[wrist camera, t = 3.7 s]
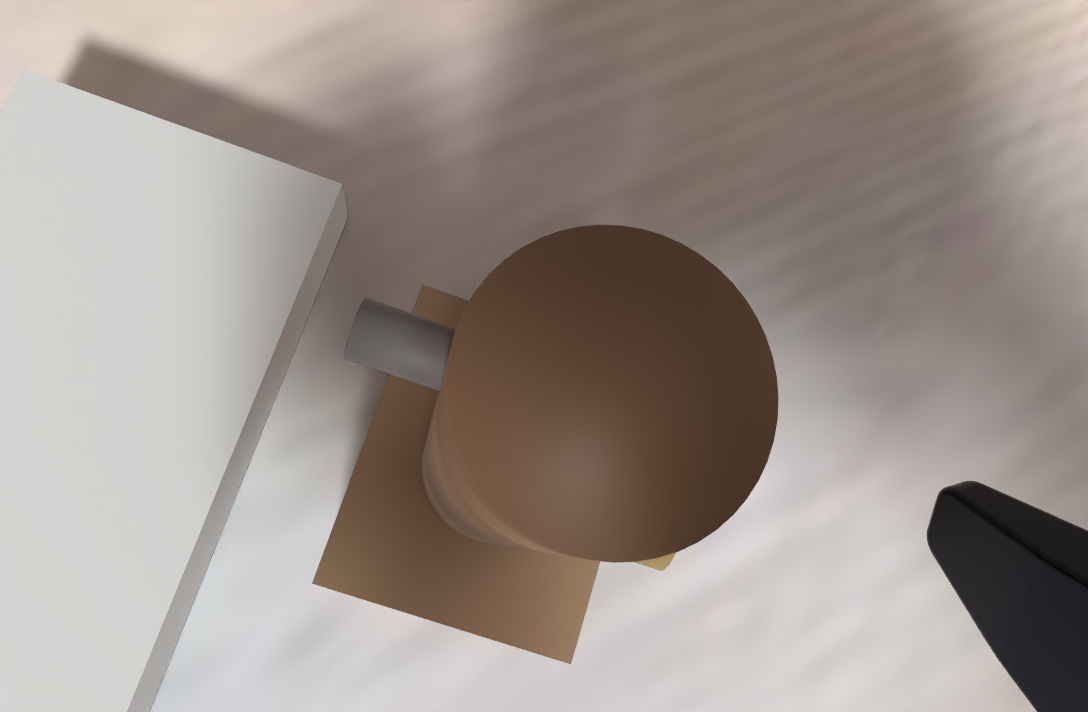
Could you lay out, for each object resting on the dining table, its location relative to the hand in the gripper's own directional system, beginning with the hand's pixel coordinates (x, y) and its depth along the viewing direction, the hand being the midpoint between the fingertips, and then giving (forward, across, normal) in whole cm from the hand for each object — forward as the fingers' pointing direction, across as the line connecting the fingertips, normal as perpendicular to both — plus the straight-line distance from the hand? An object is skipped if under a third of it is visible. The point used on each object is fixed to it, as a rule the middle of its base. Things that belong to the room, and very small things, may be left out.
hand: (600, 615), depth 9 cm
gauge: (+8, 0, +6) cm, 10 cm away
